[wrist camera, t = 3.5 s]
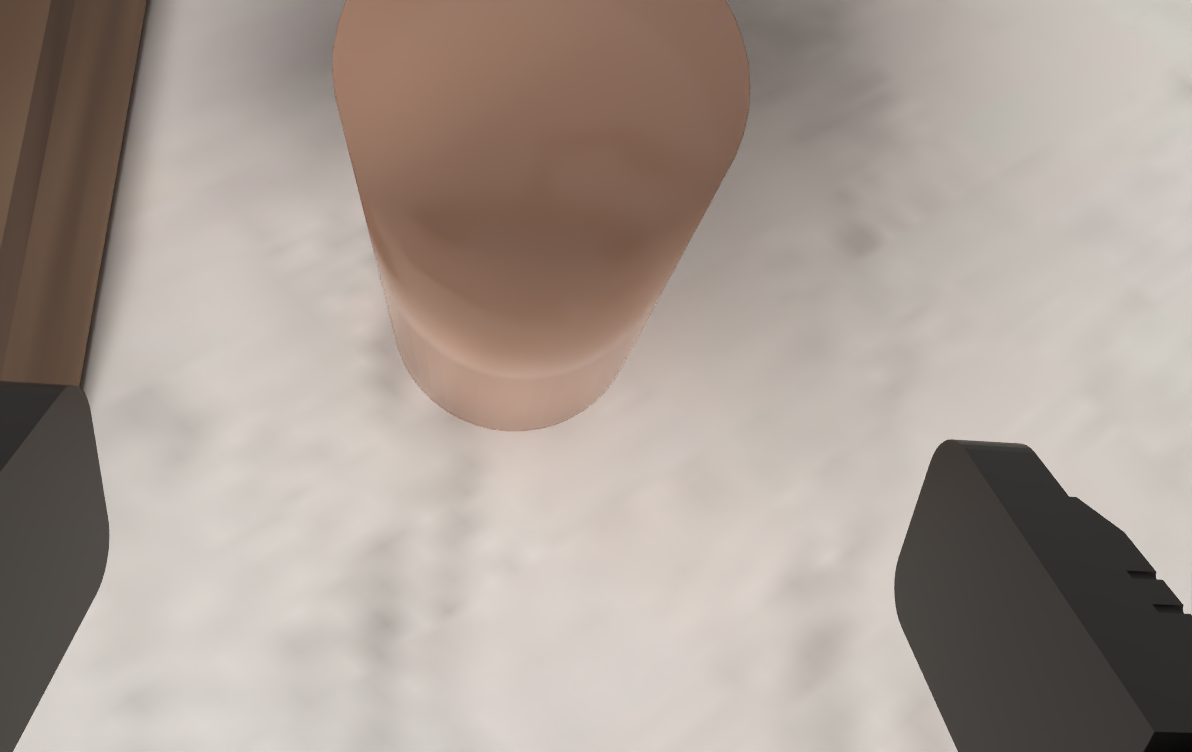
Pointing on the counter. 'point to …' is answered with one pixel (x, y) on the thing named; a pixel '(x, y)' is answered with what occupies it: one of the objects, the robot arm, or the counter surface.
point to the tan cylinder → (533, 181)
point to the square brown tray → (58, 172)
